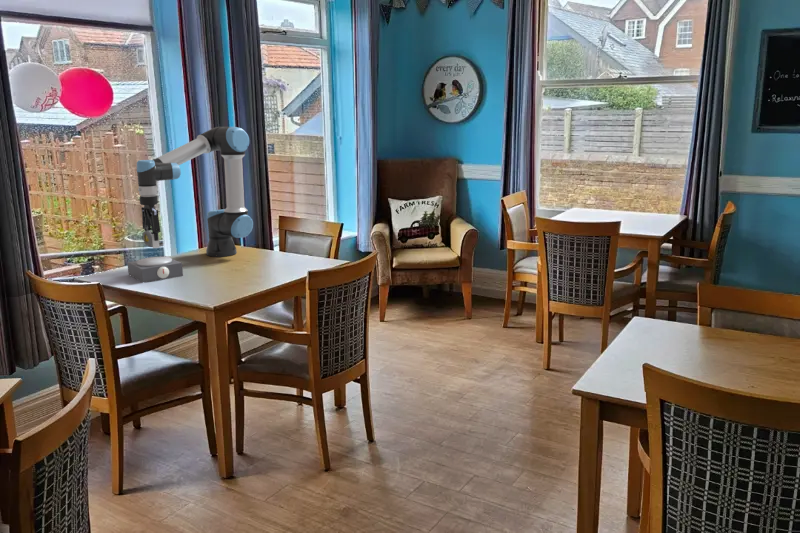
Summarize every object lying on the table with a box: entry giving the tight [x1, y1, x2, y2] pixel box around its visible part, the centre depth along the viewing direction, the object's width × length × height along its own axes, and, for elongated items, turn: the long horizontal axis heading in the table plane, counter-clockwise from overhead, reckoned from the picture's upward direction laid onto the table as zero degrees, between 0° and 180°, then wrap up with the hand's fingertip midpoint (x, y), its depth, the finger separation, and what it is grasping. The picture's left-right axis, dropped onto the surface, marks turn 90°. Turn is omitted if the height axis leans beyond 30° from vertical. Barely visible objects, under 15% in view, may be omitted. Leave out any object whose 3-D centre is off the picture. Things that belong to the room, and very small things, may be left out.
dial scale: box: [127, 255, 184, 283], centre depth 305 cm, size 19×18×7 cm
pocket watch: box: [142, 226, 164, 248], centre depth 303 cm, size 8×8×10 cm
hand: (152, 246), depth 303 cm, fingers closed on pocket watch, 7 cm apart
